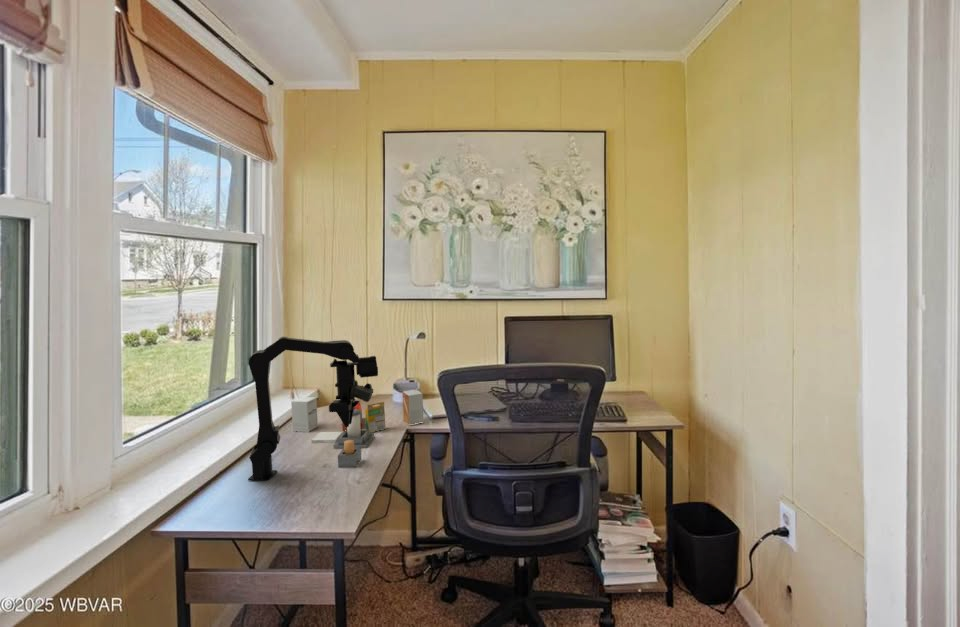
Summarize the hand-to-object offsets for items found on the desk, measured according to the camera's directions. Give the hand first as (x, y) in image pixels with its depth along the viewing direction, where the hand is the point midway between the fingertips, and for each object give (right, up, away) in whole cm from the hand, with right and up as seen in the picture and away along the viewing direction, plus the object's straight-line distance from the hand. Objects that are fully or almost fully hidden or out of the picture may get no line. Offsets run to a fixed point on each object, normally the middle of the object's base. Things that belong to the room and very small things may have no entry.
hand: (348, 425), depth 156 cm
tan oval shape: (0, -10, +1) cm, 10 cm away
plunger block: (0, -13, +1) cm, 13 cm away
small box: (+15, -9, +44) cm, 47 cm away
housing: (-3, -11, +21) cm, 24 cm away
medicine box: (-10, -10, +42) cm, 45 cm away
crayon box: (+2, -10, +34) cm, 36 cm away
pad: (-15, -11, +26) cm, 32 cm away
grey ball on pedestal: (-3, -11, +21) cm, 24 cm away
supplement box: (-28, -11, +38) cm, 49 cm away
